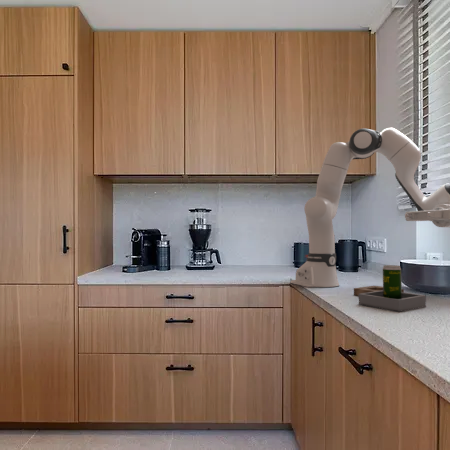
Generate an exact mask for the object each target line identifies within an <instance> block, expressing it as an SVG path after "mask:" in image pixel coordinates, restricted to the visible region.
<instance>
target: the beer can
mask: <svg viewBox="0 0 450 450" xmlns="http://www.w3.org/2000/svg"><path fill="white" fill-rule="evenodd" d="M382 287H383V297H386V298H392V299H402V289H403V287H402V268H401V266H400V265H394V264H388V265H387V264H386V265H385V264H384V265H383V267H382Z"/></svg>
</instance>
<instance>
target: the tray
mask: <svg viewBox="0 0 450 450" xmlns="http://www.w3.org/2000/svg"><path fill="white" fill-rule="evenodd" d="M358 305H359V306H363V307H369V308H374V309H380V310H385V311H392V312H394V313H395V312H396V313H402V312H408V311H412V310H418V309H421V308H426V307H427V295H424V294H419V293H412V292H405V291H404V292H402V299H392V298H386V297H383V290H381V291H375V292H368V293H361V294H359V296H358Z"/></svg>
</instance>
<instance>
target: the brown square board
mask: <svg viewBox="0 0 450 450" xmlns="http://www.w3.org/2000/svg"><path fill="white" fill-rule="evenodd" d="M381 290H383V285H381V286H379V285H369V286H362V287H361V286H360V287H355V288H354V287H353V296H356V297H359V294H361V293H368V292H375V291H381ZM402 292H404V293H405V289H403V288H402Z"/></svg>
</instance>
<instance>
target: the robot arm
mask: <svg viewBox="0 0 450 450" xmlns="http://www.w3.org/2000/svg"><path fill="white" fill-rule="evenodd" d="M375 153H380V155H381V154H382V155H383V156H384V157H385V158H386V159H387V160H388V161H389V162H390V164H392V166H393V168H394V170H395V173H394V176H395V179H396V181H397V182H398V184H399V185H400V187H401V188H402V190H403V191H404V192H405V193H406V196H408V198H409V200H410V201H411V202H412V203H413V205H414V207H415V208H416V210H413V211H405V214H404V218H405V221H406V222H432V224H433V225H434V226H435V227H438V228H450V182H447V183H444V184H442V186H440V187H439V188H438V189H436V190H435V191H434V192H432V194H430V195H429V196H426V195H425V194H424V193H423V191H422V190H421V189H420V187H419V186H418V185H417V183H416V181H415V174H416V171H417V170H418V167H419V165H420V162H421V159H422V158H421V157H422V156H421V155H422V153H421V150H420V149H419V147H418V146H417V145H416V144H415V143H414V142H413V141H412V140H411V139H410V138H409V137H408V136H406V135H405V134H404V133H402V132H401V131H399V130H398V129H396V128H394V127H387V128H384V129H383V130H382V131H381V132H380V131H378V130H374V129H369V128H359V129H357V130H355V131H354V132H353V133H352V134H351V136H350V138H349V140H348V141H347V142H341V141H337V142H333V143H332V144H331V145H330V146H329V149H328V150H327V152H326V154H325V157H324V159H323V162H322V166H321V168H320V172H319V174H318V178H317V181H316V191H315V196H313V197H311V198H309V199H308V200H307V201H306V202H305V205H304V213H305V219H306V225H307V226H306V227H307V232H308V249H309V250H308V254H304V257H305V258H306V260H305V262H304V263H303V264H302V265H301V266H300V267H299V268H298V269H297V270H296V272H295V279H293V280H290V283H291V284H294V285H296V286H297V285H298V286H302V287H309V288H316V287H317V288H331V287H333V288H334V287H338V286H340V283H339V280H338V275H337V274H338V273H337V267H336V263H337V253H336V249H335V248H336V247H335V246H336V245H335V244H336V243H335V242H336V241H335V240H336V238H335V232H334V231H335V230H334V225H333V219H335V217H336V216H337V211H338V208H339V203H340V200H341V193H342V190H343V185H344V183H345V180H346V176H347V174H348V171H349V168H350V166H351V165H350V164H351V162H352V160H365V159H369V158H370V157H372V156H373V155H375Z"/></svg>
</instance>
